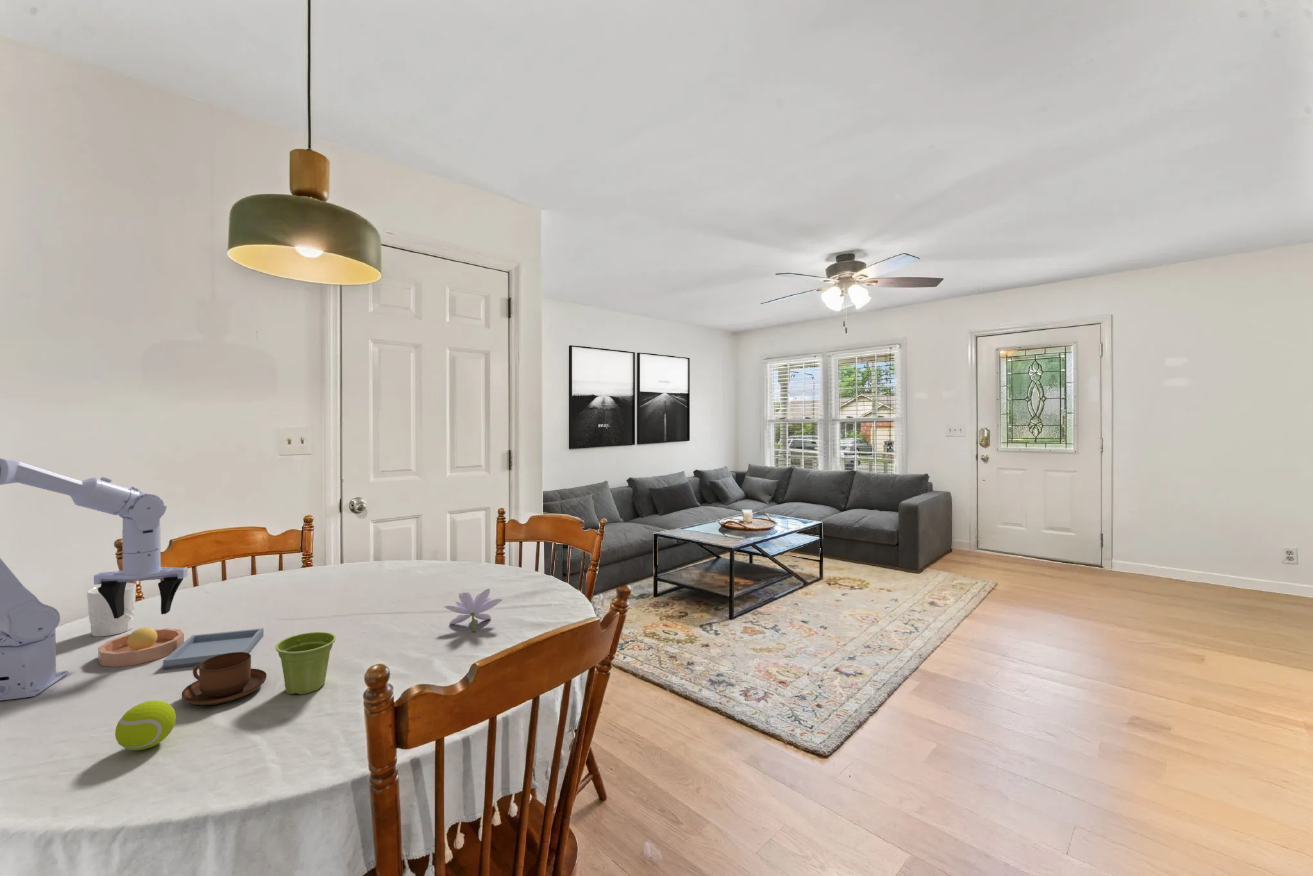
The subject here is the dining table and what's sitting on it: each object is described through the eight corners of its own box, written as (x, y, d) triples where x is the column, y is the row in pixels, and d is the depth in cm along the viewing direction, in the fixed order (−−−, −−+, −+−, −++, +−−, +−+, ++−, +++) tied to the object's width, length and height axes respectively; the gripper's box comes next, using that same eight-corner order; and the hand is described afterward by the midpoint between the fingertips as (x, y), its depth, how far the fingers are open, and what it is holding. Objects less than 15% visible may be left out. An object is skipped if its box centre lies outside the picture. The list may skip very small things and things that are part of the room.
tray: (243, 660, 110) (243, 651, 110) (163, 669, 105) (163, 660, 105) (263, 635, 122) (263, 628, 122) (192, 643, 117) (192, 635, 117)
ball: (150, 652, 111) (150, 630, 111) (122, 655, 109) (122, 633, 109) (161, 644, 115) (161, 622, 115) (134, 646, 114) (134, 625, 114)
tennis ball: (110, 766, 77) (109, 720, 76) (120, 742, 82) (120, 700, 82) (172, 750, 81) (172, 706, 80) (179, 728, 86) (178, 687, 86)
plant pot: (324, 670, 107) (324, 627, 106) (343, 686, 101) (343, 640, 100) (268, 688, 99) (268, 641, 99) (285, 706, 93) (285, 657, 93)
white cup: (105, 639, 118) (104, 594, 118) (77, 635, 120) (77, 591, 119) (145, 626, 126) (145, 584, 126) (119, 623, 128) (119, 581, 127)
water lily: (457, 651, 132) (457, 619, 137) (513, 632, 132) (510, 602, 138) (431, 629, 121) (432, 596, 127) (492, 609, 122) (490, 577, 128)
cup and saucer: (165, 716, 90) (165, 680, 90) (203, 682, 101) (203, 650, 101) (249, 707, 93) (249, 672, 93) (277, 675, 105) (277, 644, 104)
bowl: (165, 661, 109) (165, 648, 109) (84, 670, 104) (83, 657, 104) (193, 637, 121) (193, 625, 120) (120, 644, 116) (120, 632, 116)
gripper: (193, 543, 118) (194, 604, 119) (107, 548, 113) (108, 611, 113) (178, 551, 111) (179, 615, 112) (86, 556, 106) (87, 624, 107)
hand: (142, 614), depth 112 cm, fingers open, 7 cm apart
